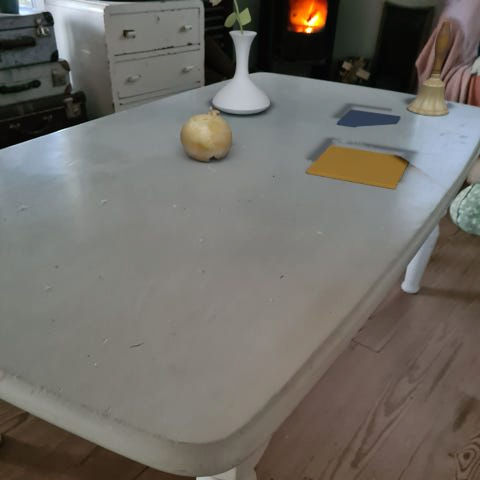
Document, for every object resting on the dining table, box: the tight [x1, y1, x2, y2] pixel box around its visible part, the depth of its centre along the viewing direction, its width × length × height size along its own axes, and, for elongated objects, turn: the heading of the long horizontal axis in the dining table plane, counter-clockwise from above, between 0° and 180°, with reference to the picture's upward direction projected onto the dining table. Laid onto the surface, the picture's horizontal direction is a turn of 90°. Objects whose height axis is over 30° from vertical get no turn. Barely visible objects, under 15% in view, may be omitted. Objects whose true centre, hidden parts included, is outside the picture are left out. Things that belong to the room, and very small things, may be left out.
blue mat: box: [336, 108, 401, 128], centre depth 99 cm, size 10×10×1 cm
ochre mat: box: [306, 144, 410, 190], centre depth 79 cm, size 13×13×1 cm
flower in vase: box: [209, 0, 271, 115], centre depth 95 cm, size 13×11×25 cm
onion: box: [179, 105, 233, 163], centre depth 79 cm, size 8×8×7 cm
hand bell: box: [406, 21, 452, 117], centre depth 102 cm, size 8×8×16 cm
